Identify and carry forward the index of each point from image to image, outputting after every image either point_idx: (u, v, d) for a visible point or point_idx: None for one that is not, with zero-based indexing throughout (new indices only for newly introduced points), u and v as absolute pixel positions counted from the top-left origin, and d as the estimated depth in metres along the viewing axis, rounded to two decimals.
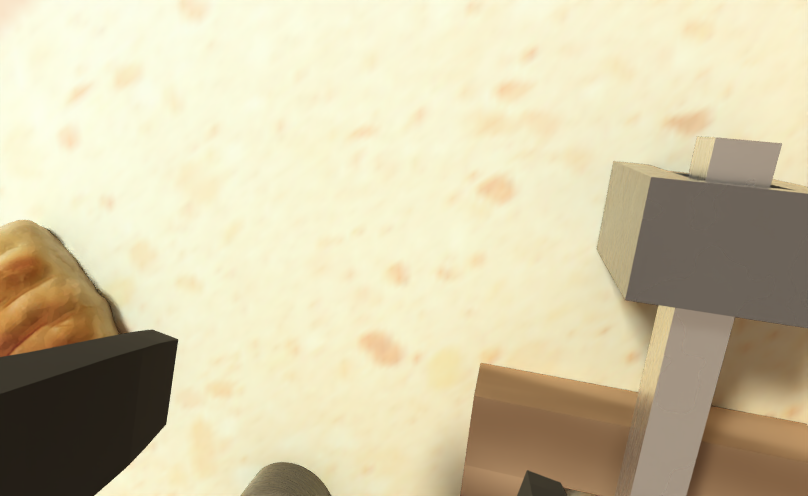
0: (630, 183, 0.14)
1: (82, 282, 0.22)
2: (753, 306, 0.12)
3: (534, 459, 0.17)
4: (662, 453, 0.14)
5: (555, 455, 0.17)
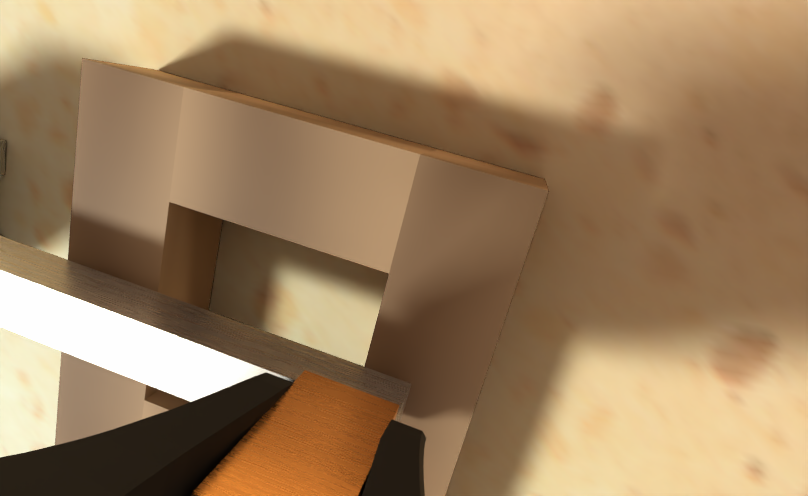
0: None
1: None
2: None
3: (117, 403, 0.14)
4: None
5: (109, 379, 0.14)
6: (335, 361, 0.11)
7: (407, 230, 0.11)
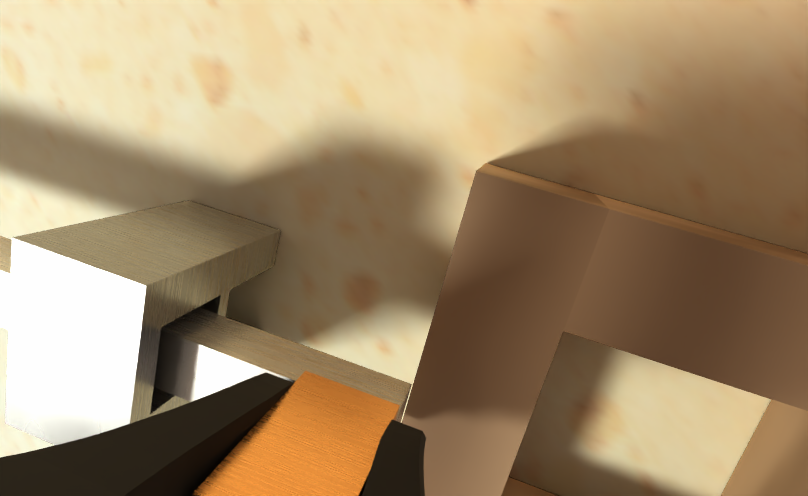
0: None
1: None
2: (122, 354, 0.10)
3: None
4: None
5: None
6: (336, 361, 0.11)
7: None
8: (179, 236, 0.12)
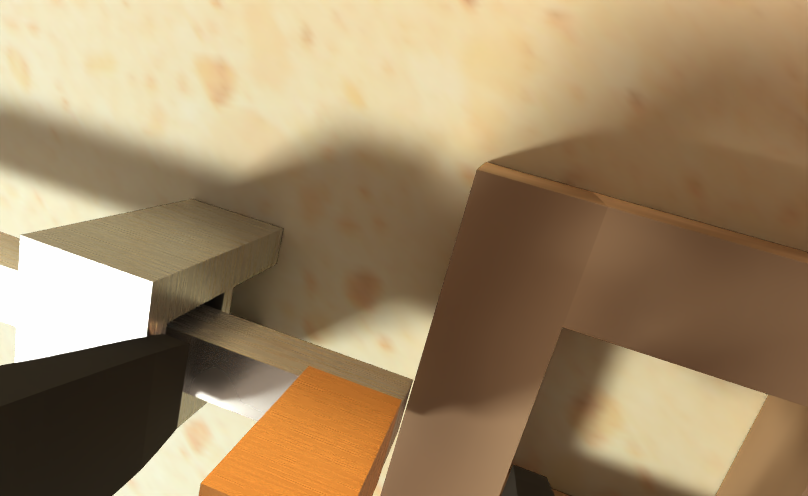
0: None
1: None
2: None
3: None
4: None
5: None
6: (338, 357, 0.12)
7: None
8: (184, 233, 0.12)
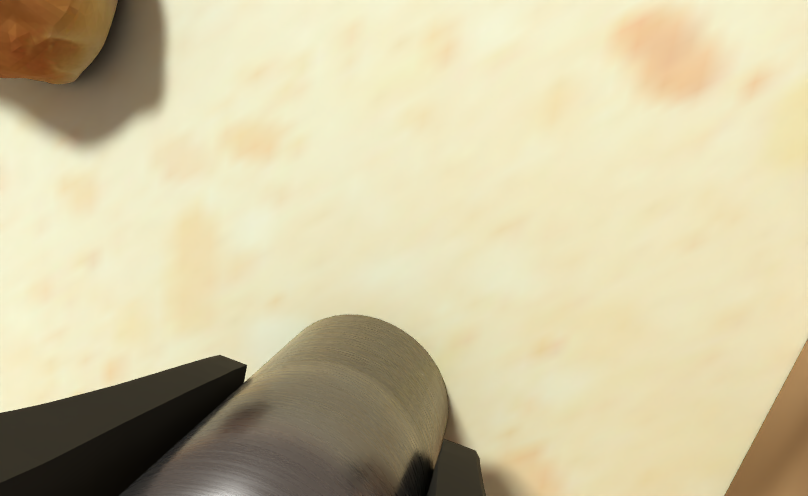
0: None
1: None
2: None
3: None
4: None
5: None
6: None
7: None
8: None
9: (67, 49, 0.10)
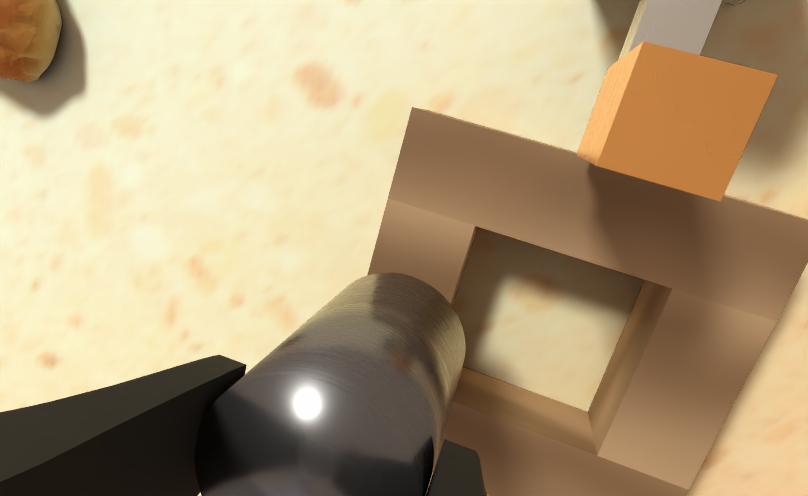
0: None
1: None
2: None
3: (468, 194, 0.15)
4: None
5: (493, 190, 0.14)
6: None
7: (630, 473, 0.15)
8: None
9: (31, 62, 0.19)
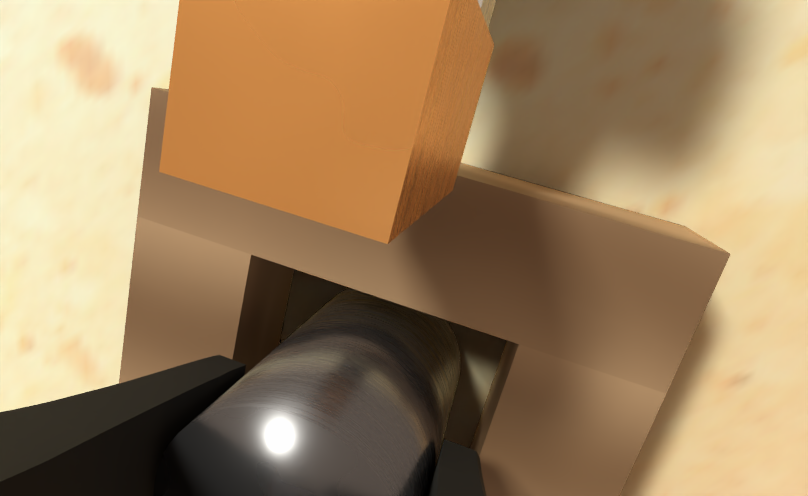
0: None
1: None
2: None
3: (238, 210, 0.10)
4: None
5: None
6: None
7: None
8: None
9: None
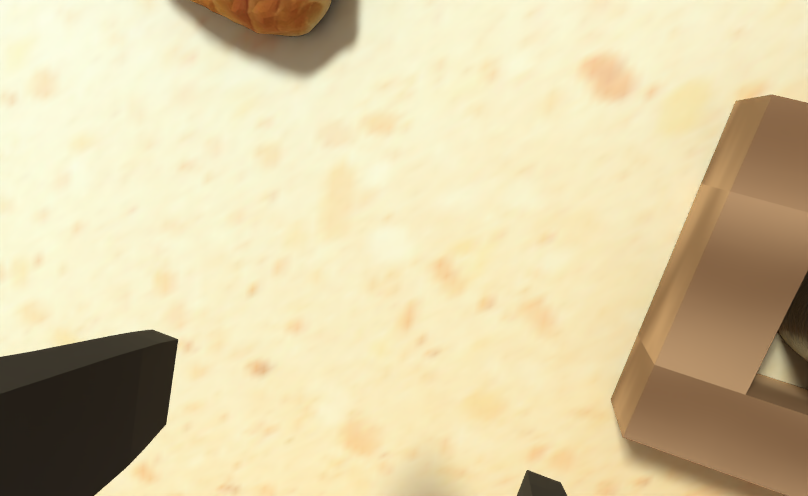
0: None
1: None
2: None
3: None
4: None
5: None
6: None
7: None
8: None
9: (316, 9, 0.17)
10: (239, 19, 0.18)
